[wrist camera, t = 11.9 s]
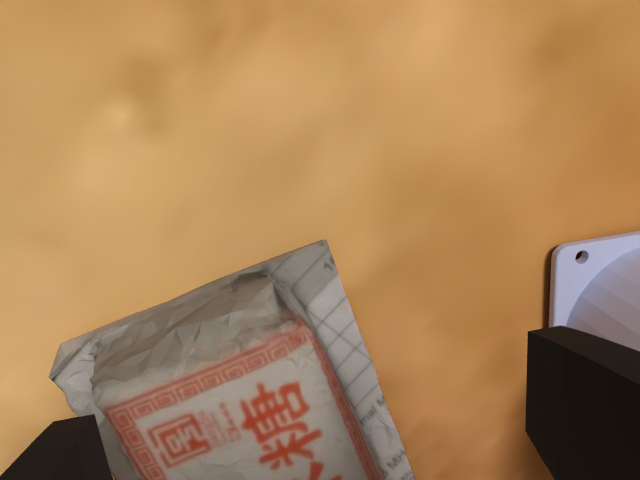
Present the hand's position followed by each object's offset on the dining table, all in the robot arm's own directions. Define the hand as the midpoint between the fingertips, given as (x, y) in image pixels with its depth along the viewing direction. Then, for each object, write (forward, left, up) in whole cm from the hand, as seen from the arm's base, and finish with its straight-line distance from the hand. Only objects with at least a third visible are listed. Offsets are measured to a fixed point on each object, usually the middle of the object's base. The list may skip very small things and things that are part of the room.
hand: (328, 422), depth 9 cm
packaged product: (+1, +10, -11) cm, 15 cm away
